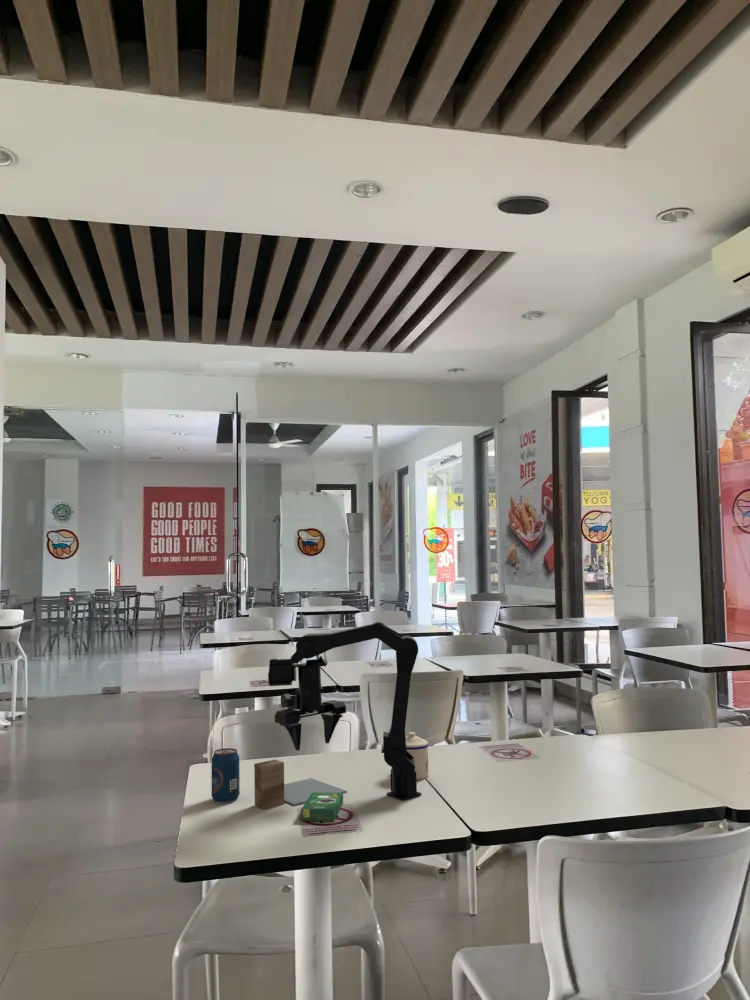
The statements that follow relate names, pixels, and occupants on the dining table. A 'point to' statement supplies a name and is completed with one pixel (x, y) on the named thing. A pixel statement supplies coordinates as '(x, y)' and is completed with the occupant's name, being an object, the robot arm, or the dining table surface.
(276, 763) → the brown wooden block
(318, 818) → the coffee box
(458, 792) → the dining table surface
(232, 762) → the soda can
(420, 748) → the teacup with lid
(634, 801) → the dining table surface
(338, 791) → the slate mat
